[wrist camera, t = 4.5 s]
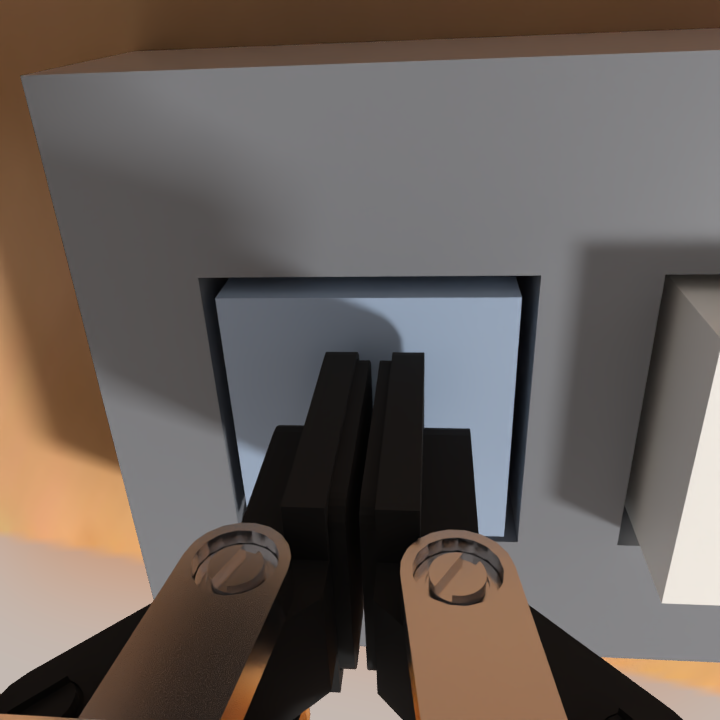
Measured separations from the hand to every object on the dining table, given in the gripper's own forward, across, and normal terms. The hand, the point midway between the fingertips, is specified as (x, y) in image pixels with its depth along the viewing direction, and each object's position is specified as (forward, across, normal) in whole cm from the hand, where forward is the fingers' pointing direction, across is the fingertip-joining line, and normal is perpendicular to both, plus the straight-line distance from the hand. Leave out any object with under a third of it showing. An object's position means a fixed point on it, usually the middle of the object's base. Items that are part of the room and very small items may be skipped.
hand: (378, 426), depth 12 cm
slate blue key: (+3, 0, 0) cm, 3 cm away
